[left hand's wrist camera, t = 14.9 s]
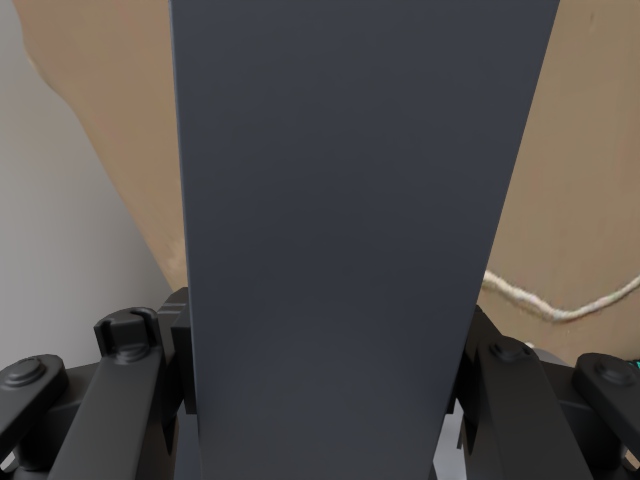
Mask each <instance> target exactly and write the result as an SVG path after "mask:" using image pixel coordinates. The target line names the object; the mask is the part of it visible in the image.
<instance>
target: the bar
mask: <svg viewBox="0 0 640 480" xmlns="http://www.w3.org/2000/svg"><path fill="white" fill-rule="evenodd" d="M559 2H560V0H168V3H169V17H170V32H171V46H172V61H173V75H174V90H175V104H176V118H177V133H178V147H179V162H180V176H181V191H182V205H183V220H184V234H185V248H186V263H187V277H188V292H189V306H190V321H191V335H192V350H193V364H194V378H195V393H196V407H197V422H198V436H199V450H200V465H201V479H202V480H428V477H429V473H430V470H431V466H432V462H433V459H434V455H435V452H436V448H437V444H438V441H439V437H440V433H441V430H442V426H443V423H444V419H445V415H446V412H447V408H448V404H449V401H450V397H451V394H452V390H453V386H454V383H455V379H456V375H457V372H458V368H459V365H460V361H461V357H462V354H463V350H464V346H465V343H466V339H467V336H468V332H469V328H470V325H471V321H472V317H473V314H474V310H475V307H476V303H477V299H478V296H479V292H480V288H481V285H482V281H483V277H484V274H485V270H486V267H487V263H488V259H489V256H490V252H491V248H492V245H493V241H494V238H495V234H496V230H497V227H498V223H499V219H500V216H501V212H502V209H503V205H504V201H505V198H506V194H507V190H508V187H509V183H510V180H511V176H512V172H513V169H514V165H515V161H516V158H517V154H518V151H519V147H520V143H521V140H522V136H523V132H524V129H525V125H526V122H527V118H528V114H529V111H530V107H531V103H532V100H533V96H534V93H535V89H536V85H537V82H538V78H539V74H540V71H541V67H542V64H543V60H544V56H545V53H546V49H547V45H548V42H549V38H550V35H551V31H552V27H553V24H554V20H555V16H556V13H557V9H558V5H559Z"/></svg>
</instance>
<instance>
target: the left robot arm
mask: <svg viewBox="0 0 640 480" xmlns="http://www.w3.org/2000/svg"><path fill="white" fill-rule="evenodd" d="M94 331H95V334H96V338H97V341H98V345H99V349H100V352H101V356H102V358H101V360H100V362H98V363H94V364H89V365H85V366H80V367H75V368H70V369H65V366H64V363H63V360H62V359H61V358H60V357H58V356H57V355H50V354H45V355H38V356H32V357H28V358H25V359H22V360H19V361H18V362H16V363H14V364H12V365H10V366H8V367H6V368H5V369H3V370H2V371H0V464H1V463H2V462H3V461H4V460H5V459H6V457H7V456H8V455H9V454H10V453H11V452H12V451H13V453H14V456H15V459H14V460H13V461H12V463H11V464H10V465H9V466H8V467H7V468H6V469H4V470H1V468H0V480H173V479H174V470H175V461H176V452H177V443H178V434H179V423H178V417H177V411H178V409H179V407H180V405H181V403H182V400H183V398H184V404H185V409H186V414H197V407H196V393H195V378H194V364H193V350H192V335H191V321H190V306H189V292H188V287H183V288H181V289H179V290H178V291H176V292H175V293H173V294H172V295H170V297H169V298H168V299H167V300H166V302H165V303H164V305H163V306H162V307H161V308H160V309H159V310H158V312H157V313H156V312H155V311H154V310H153V309H150V308H145V307H132V308H128V309H123V310H120V311H117V312H114V313H112V314H109V315H108V316H106V317H105V318H103V319H101V320H100V321H99V322H98V323H97V324H96V325H95V326H94ZM628 449H629V451H630V452H631V453H632V454H633V455H634V456H635V457H636V459H637V460H638V461H639V462H640V369H638V368H637V367H635V366H634V365H632V364H630V363H628V362H625V361H623V360H622V359H620V358H617V357H613V356H611V355H606V354H599V353H585V354H582V355H581V356H580V357H578V359H577V362H576V365H575V368H572V367H567V366H563V365H558V364H553V363H548V362H544V361H540V360H539V357H538V356H537V355H536V353H535V352H534V351H533V349H531V348H530V347H529V346H527V345H526V344H524V343H523V342H521V341H518V340H516V339H514V338H511V337H507V336H503V335H502V334H501V333H500V332H499V331H498V329H497V328H496V327H495V326H494V324H493V323H492V322H491V321H490V319H489V318H488V317H487V316H486V314H485V313H484V312H482V309H481V308H480V307H479V306H478V305H476V307H475V310H474V314H473V317H472V321H471V325H470V328H469V332H468V336H467V339H466V343H465V346H464V350H463V354H462V357H461V361H460V365H459V368H458V372H457V375H456V379H455V383H454V386H453V390H452V394H451V397H450V401H449V404H448V408H447V412H446V415H445V419H444V423H443V426H442V430H441V433H440V437H439V441H438V444H437V448H436V452H435V455H434V459H433V462H432V466H431V470H430V473H429V477H428V480H640V467H639V468H638V469H636V468H635V467H634V466H633V465H632V464H631V463H630V462H629V461H628V460H627V458H626V457H625V455H626V453H627V450H628Z"/></svg>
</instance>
